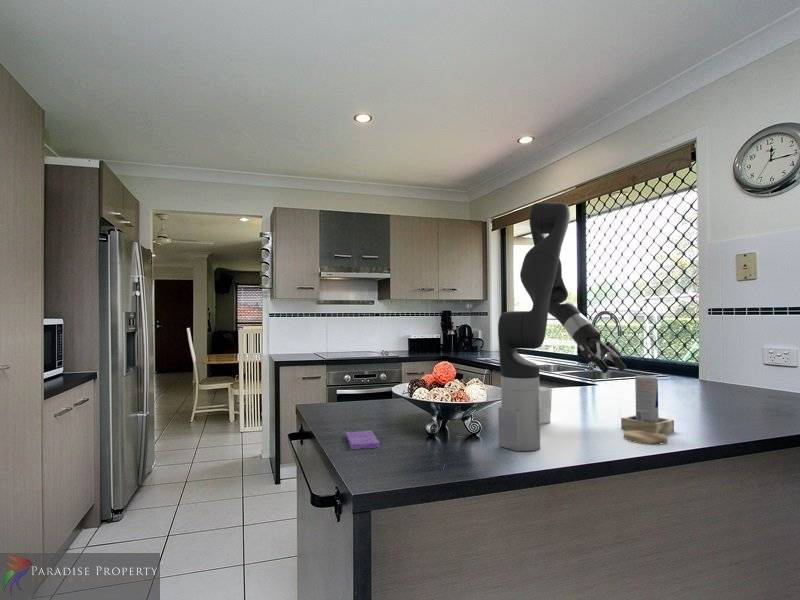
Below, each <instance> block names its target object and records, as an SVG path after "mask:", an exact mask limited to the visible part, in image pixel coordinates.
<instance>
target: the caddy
mask: <svg viewBox="0 0 800 600" xmlns="http://www.w3.org/2000/svg"><path fill="white" fill-rule="evenodd" d="M620 422H621V423H620V424H621V426H620V427H621V428H620V429H621V430H625V431H632V430H640V431H650V432H656V433H660V434H663V435H666V434H667V433H672V432H674V431H675V420H674V419H669V418H665V417H664V418H663V417H659V423H654V424H653V423H648V422H642V421H637V420H636V414H634V415H630V416H624V417H621V421H620Z"/></svg>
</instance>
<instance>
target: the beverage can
mask: <svg viewBox="0 0 800 600" xmlns="http://www.w3.org/2000/svg"><path fill="white" fill-rule="evenodd" d="M634 382H635V383H634V387H635V415H636V420H637V421H642V422H648V423H653V424H654V423H659V418H660V416H659V384H658V383H659V382H658V376H654V375H635V379H634Z"/></svg>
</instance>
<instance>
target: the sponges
mask: <svg viewBox="0 0 800 600" xmlns="http://www.w3.org/2000/svg"><path fill="white" fill-rule="evenodd" d="M345 438H346V440H347V441H349V442H348V445H349V447H350V450H362V449H363V448H364V449H375V448H376V447H378V448H380V444H381V443H380V441H379V440H378V439H377V436H376V434H374V432H373V430H365V431H364V430H363V431H353V432H352V431H347V432H345ZM361 448H362V449H361Z"/></svg>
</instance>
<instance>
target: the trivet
mask: <svg viewBox="0 0 800 600" xmlns="http://www.w3.org/2000/svg"><path fill="white" fill-rule="evenodd" d="M623 438H624V439H625V438H626V439H625V440H627V439H628V440H627V441H629V440H631V441H630V442H633V441H636V442H635V443H637V442H641V443H640V444H644V443H650V444H649V445H661V444H660V443H664V444H666V443H665V442H667V443H668V437H667V435H666V434H660V433H656V432H650V431H640V430H632V431H630V430H625V431H624V432H623Z"/></svg>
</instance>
